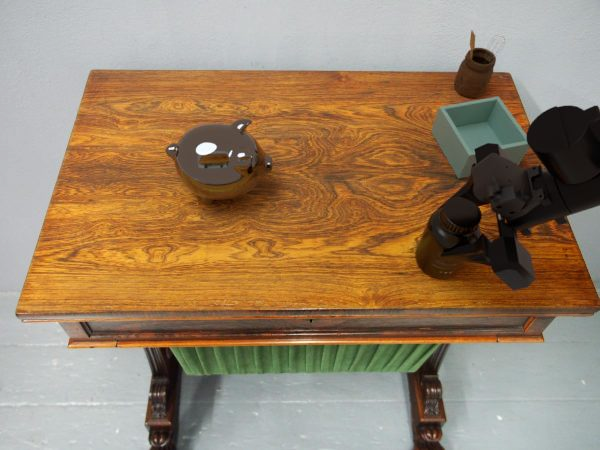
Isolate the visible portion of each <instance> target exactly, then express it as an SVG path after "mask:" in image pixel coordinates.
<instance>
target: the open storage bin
mask: <svg viewBox="0 0 600 450" xmlns="http://www.w3.org/2000/svg"><path fill="white" fill-rule="evenodd" d="M430 133H431V134H432V136H433V137H434V139H435V141H436V142H437V145H438V146H439V148H440V151H442V153H443V155H444V157H445V158H446V160H447V162H448V164H449V165H450V167H451V169H452V170H453V172H454V174H455V176H456V178H458V180H459V179H465V178H469V177H470V174H471V166H472V165H473V163H475V164H476V157H475V148H478V147H480V146H482V145H484V144H487V143H493V144H498V145H499V146H500V147H501V148H502V150H503V151H504V152H505V153H506V155H507V156H508V157H509V158H510V159H511V161H512V162H514V163H516V164H517V165H518V166H520V164H521V162H522V160H523V159H524V157H525V155H526V154H527V152H528V150H529V149H530V146H529V145H528V143H527V139H526V138H527V133H526V132H525V131H524V129H523V128H522V127H521V124H520V123H519V122H518V121H517V120H516V118H515V117H514V116H513V114H512V112H511V111H510V110H509V108H508V107H507V106H506V105H505V102H503V100H502V99H501V97H500V96H493V97H486V98H481V99H477V100H476V99H475V100H470V101H464V102H460V103H452V104H448V105H443V106H439V107H438V110H437V112H436V115H435V118H434V121H433V123H432V127H431V129H430ZM476 165H477V164H476Z"/></svg>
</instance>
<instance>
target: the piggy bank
mask: <svg viewBox="0 0 600 450" xmlns="http://www.w3.org/2000/svg"><path fill="white" fill-rule="evenodd" d="M252 123H253V120H252V119H250V118H238V119H235V120H234V121H232V123H223V122H207V123H202V124H198V125H195V126H193V127H191V128H189V129H188V130H187V131H185V132H184V133H183V134H182V135H181V136H180V137H179V139H178V141H177V142H171V143H170V144H168V145H167V146H166V147H165V150H164V152H165V154H166V156H167V157H169V158H170V159H171V160H172V161H173V164H174V168H175V171H176V174H177V176H178V178H179V180H180V181H181V183H182V184H183V186H184V187H185V188H186V189H187V190H188V191H189V192H191V193H192V194H194V195H196V196H197V197H200V201H201V203H202V204H203V205H204V206H207V205H211V204H212V203H214V200H215V201H219V200H229V199H230V200H231V201H232V202H233V203H236V204H240V203H242V202H243V200H244V197H245V195H246V194H247V193H249V192H251V191H252V190H253V189H254V188H255V187H256V186H258V185H259V184H260V183H261V182H262V181H263V179H264V178H265V177H266V176H268V175H269V174H270V173H272V171H273V167H274V166H273V165H274V161H273V157H272V156H271V155H269V154H268V153H267V152H266V151H264V149H263V147H262V146H261V144H260V143H259V141H258V140H257V139H256V138H255V137H254V135H252V133H250V132H248V131H247V128H248V127H249V126H250V125H251V124H252Z"/></svg>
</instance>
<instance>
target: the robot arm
mask: <svg viewBox="0 0 600 450" xmlns="http://www.w3.org/2000/svg"><path fill="white" fill-rule="evenodd" d="M526 135H527V138H526V139H527V143H528V145H529V146H530V147H529V149H531V151H532V152H533V153H534V155H536V157H537V159H538V160H539V161H540V163H541V164H539V165H533V166H530V167H526V168H522V167H521V166H520V165H517V164H516V163H514V162H512V161H511V159H510V158H509V157H508V156H507V155H506V153H505V152H504V151H503V150H502V148H501V147H500V146H499V145H498V144H493V143H487V144H484V145H482V146H480V147H478V148H475V157H476V164H477V165H476V164H475V163H473V165H472V166H471V174H470V176H469V177H468V180H467V181H466V183H465V184H463V185H462V186H461V188H459V189H458V190H457V191H456V192H455V193H454V194H453V195H451V196H450V197H449V198H448V199H447V200H446V201H444V202H443V203H442V204H441V205H440V206H439V207H438V208H437V209H436V210H438V209H440V208H442V207H443V206H444V205H445V203H446V202H447V201H448V200H450V199H451V198H454V197H463V198H467V199H470V200H471V201H473V202H474V203H476V205H478V207H482V206H486V205H489V204H490V210H491V212H493V213H495V217H496V218H495V219H496V223H497V230H498V237H496V238H494V239H493V240H491V239H490V238H489V237H488V236H487V235H486V234H485V233H483V232H482V233H480V237H479V238H478V240H477V241H476V242H473V243H470V244H467V245H463V246H460V247H457V248H454V249H451V250H448V251H446V252H444V253H442V254H441V257H442V258H443V259H444V260H450V261H459V262H465V263H467V264H468V263H469V264H476V265H483V266H486V267H487V266H488V267H490V268H491V270H492V271H493V274H494V275H495V276H496V277H498V279H500V280H501V281H502V282H503V283H504V284H505V285H506V286H508V287H509V288H510V289H511V290H512V291H514V292H515V291H518V290H519V291H520V290H521V289H522V290H523V289H527V288H528V287H530V286H531V284H533V283H534V281H535V280H536V275H535V269H534V264H533V259H532V254H531V253H530V252H529V250H527V248H526V247H524V245H523V244H522V243H521V242H520V241H519V239H518V232H519V233H520V234H521V235H522V236H523V237H526V236H529V235H533V231H532V228H535V227H538V226H541V225H544V224H547V223H550V222H553V221H555V223H556V224H557V225H558V226H562V225H565V224H567V223H569V222H568V216H571V215H574V214H575V215H576V214H578V213H582V212H584V211H588V210H591V209H593V208H594V209H595V208H597V207H599V206H600V107H599V105H593V106H591V107H590V106H589V107H588V108H586V109H583V108H581V107H579V106H578V105H577V106H576V105H573V104H572V105H570V104H569V105H561V106H558V105H555V106H552V107H550V108H547V109H546V110H544V111H543V112H541V113H539V114H538V115H537V116H536V117H535V119H534V120H532V122H531V123H530V125H529V127H528V128H527V131H526ZM545 169H546V170H545Z"/></svg>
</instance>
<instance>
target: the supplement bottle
mask: <svg viewBox="0 0 600 450" xmlns="http://www.w3.org/2000/svg"><path fill="white" fill-rule="evenodd" d="M450 198H451V197H450ZM447 200H448V199H447ZM447 200H446V201H447ZM446 201H445V202H446ZM445 202H444V203H445ZM437 209H438V208H437ZM437 209H436V210H435V211H433V212H432V213H431V214H430V217H429V218H428V220H427V223H426V224H425V227H424V229H423V232H422V234H421V236H420V239H419V241H418V243H417V246H416V248H415V252H414V253H415V254H414V257H415V261H416V264H417V265H418V267H419V268H420V269H421V270H422V272H423V273H425V274H426V275H427V276H429V277H431V278H435V279H441V280H442V279H443V280H444V279H450V278H452V277H454V276H456V275H457V274H458V273H459V272H460V271H461V269H462V268H463V267H464V265H465V263H466V262H459V261H450V260H444V259H443V258H442V257H441V254H442V253H444V252H446V251H448V250H451V249H454V248H457V247H460V246H463V245H467V244H470V243H473V242H476V241H477V240H478V238H479V237H480V236H481V234H482V233H481V232H482V231H481V225H480V223H481V222H482V218H483V217H482V215H483V214H482V211H481V208H480V206H478V205H476V203H474V202H473V201H471V200H470V199H467V198H463V197H454V198H451V199H450V200H448V201H447V202H446V203H445V205H444V206H443V207H442V208H440V209H438V210H437Z"/></svg>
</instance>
